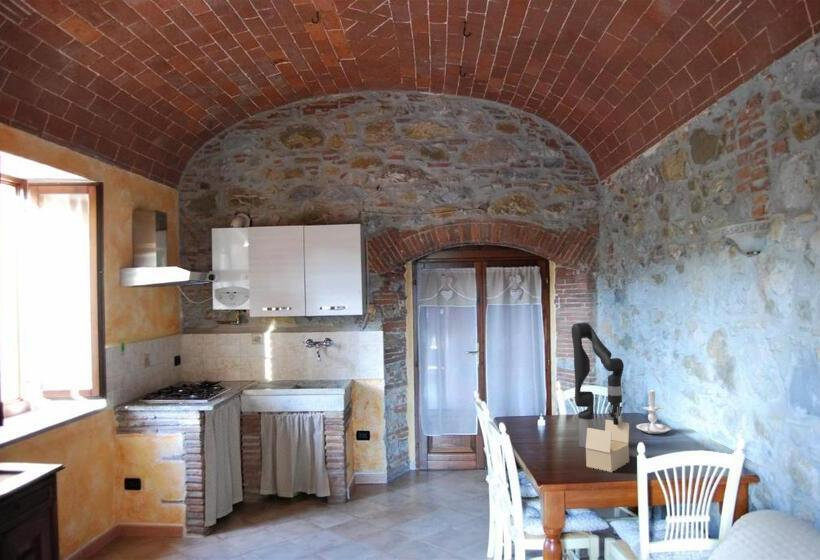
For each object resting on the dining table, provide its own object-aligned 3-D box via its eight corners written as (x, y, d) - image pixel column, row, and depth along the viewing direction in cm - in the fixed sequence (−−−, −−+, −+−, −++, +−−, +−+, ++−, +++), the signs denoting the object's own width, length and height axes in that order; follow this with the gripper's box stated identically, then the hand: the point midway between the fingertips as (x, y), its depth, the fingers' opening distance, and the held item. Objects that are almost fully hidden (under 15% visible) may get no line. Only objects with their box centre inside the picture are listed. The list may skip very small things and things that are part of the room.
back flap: (604, 438, 300) (604, 438, 300) (628, 443, 290) (628, 443, 291) (605, 419, 302) (605, 419, 302) (629, 423, 292) (629, 423, 292)
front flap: (587, 427, 287) (587, 427, 286) (611, 431, 277) (611, 431, 277) (586, 447, 285) (585, 447, 284) (610, 453, 275) (609, 452, 275)
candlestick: (631, 435, 339) (629, 392, 340) (640, 426, 359) (638, 385, 360) (665, 440, 327) (663, 395, 327) (673, 430, 347) (671, 388, 347)
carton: (604, 456, 300) (604, 439, 300) (629, 461, 290) (628, 443, 290) (586, 466, 285) (585, 448, 285) (611, 472, 275) (610, 453, 275)
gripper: (613, 391, 303) (614, 421, 303) (603, 394, 294) (604, 425, 294) (626, 392, 298) (627, 423, 298) (616, 396, 289) (617, 428, 288)
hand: (615, 424), depth 296 cm, fingers closed
